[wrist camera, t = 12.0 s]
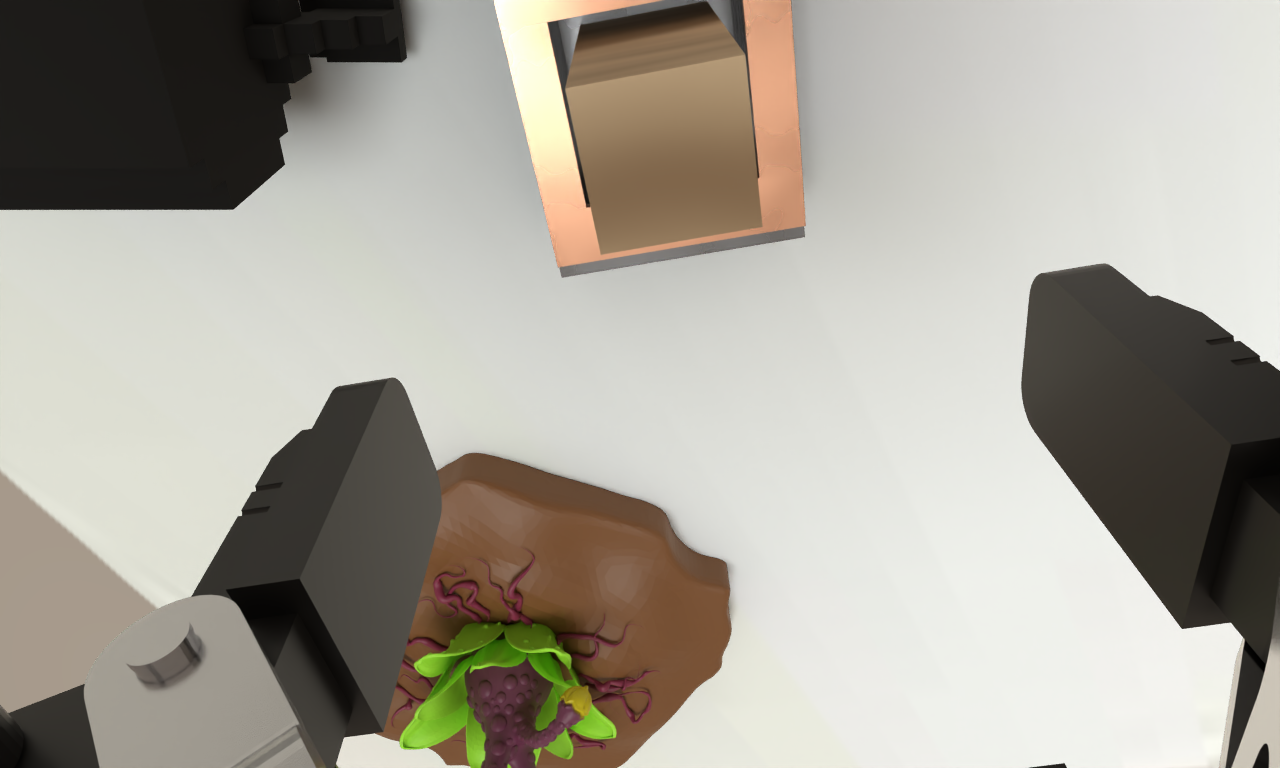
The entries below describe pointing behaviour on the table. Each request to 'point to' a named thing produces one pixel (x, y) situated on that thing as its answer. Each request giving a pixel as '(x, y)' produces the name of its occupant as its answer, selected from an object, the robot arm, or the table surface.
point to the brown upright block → (663, 128)
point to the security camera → (163, 95)
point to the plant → (553, 623)
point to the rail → (540, 62)
